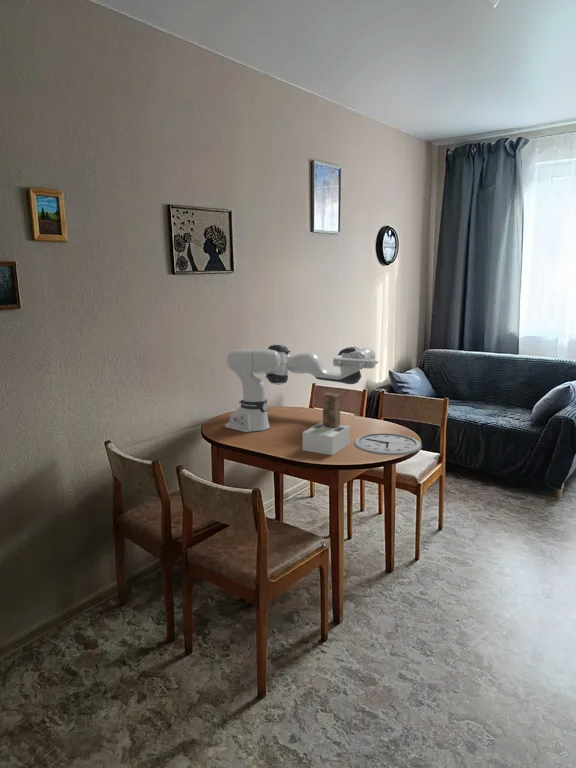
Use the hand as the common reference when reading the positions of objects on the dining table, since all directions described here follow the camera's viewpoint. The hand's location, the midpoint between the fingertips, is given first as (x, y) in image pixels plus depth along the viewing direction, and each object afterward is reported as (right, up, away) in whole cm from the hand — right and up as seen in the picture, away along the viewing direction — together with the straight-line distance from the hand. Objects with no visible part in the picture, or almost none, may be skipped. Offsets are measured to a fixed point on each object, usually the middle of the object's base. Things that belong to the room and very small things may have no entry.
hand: (348, 365), depth 249 cm
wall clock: (+16, -36, -13) cm, 41 cm away
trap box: (-12, -36, -16) cm, 41 cm away
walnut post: (-9, -27, -14) cm, 31 cm away
